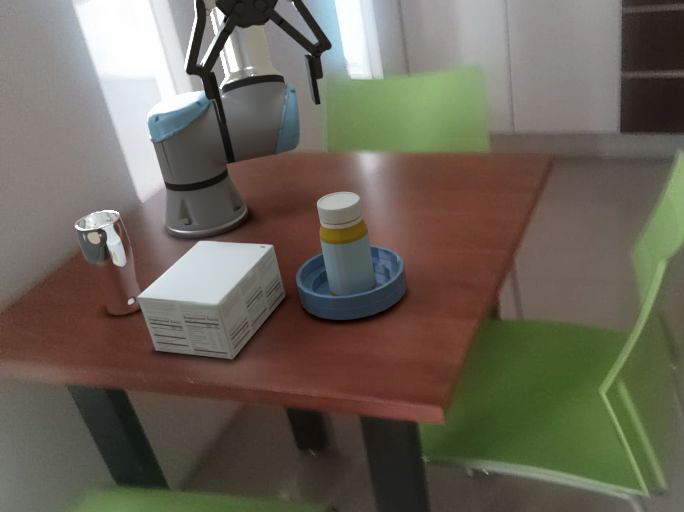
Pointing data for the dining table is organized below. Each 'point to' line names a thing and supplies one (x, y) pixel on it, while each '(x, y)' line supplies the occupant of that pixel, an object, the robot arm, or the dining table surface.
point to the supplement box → (213, 298)
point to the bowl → (358, 305)
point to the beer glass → (110, 259)
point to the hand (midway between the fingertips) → (270, 111)
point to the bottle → (345, 244)
